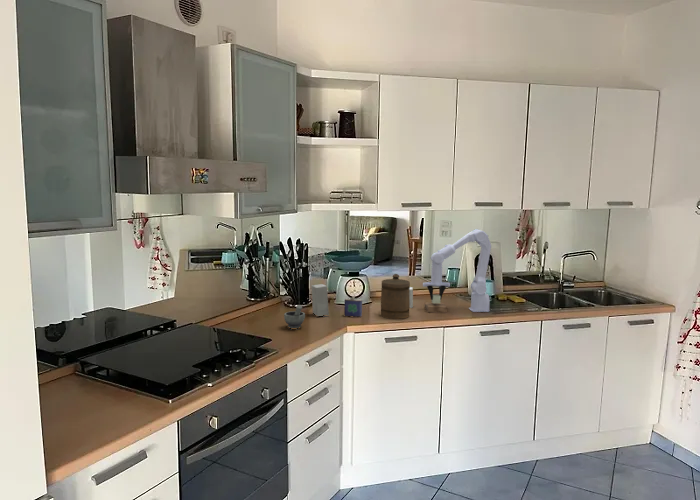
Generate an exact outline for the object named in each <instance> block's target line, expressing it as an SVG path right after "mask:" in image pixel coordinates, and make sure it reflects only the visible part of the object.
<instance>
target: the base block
mask: <svg viewBox="0 0 700 500" xmlns="http://www.w3.org/2000/svg"><path fill="white" fill-rule="evenodd" d="M424 309H425V310H426V312H427V313H447V312H448V306H447V305H446V304H445V303H444V302H440V303H432V302H424Z"/></svg>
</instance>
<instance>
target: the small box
mask: <svg viewBox="0 0 700 500" xmlns="http://www.w3.org/2000/svg"><path fill="white" fill-rule="evenodd" d="M413 288H414V287H413V286H412V287H411V286H410V294H409V296H410V308H411V309H412V308H413V307H414V306H413V305H414V302H413V301H414V289H413ZM410 308H409V309H410Z"/></svg>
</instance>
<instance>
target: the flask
mask: <svg viewBox="0 0 700 500" xmlns="http://www.w3.org/2000/svg"><path fill="white" fill-rule="evenodd" d="M355 298H356V296H355V295H353V296H351V297H347V298H344V313H343V314H344V315H345V316H344V317H346V316H353V317H352V318H362V317H363V300H362V299H355Z"/></svg>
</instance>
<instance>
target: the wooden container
mask: <svg viewBox="0 0 700 500" xmlns="http://www.w3.org/2000/svg"><path fill="white" fill-rule="evenodd" d="M410 287H411V284H410V281H409V280H406V279H402V278H401V279H400V275H399V274H398V273H394V274H392V278H387V279H382V280H381V288H380V291H381V292H380V316H381V317H382V318H386V319H389V320H403V319H406V318H409V317H410V296H409V294H410Z"/></svg>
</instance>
